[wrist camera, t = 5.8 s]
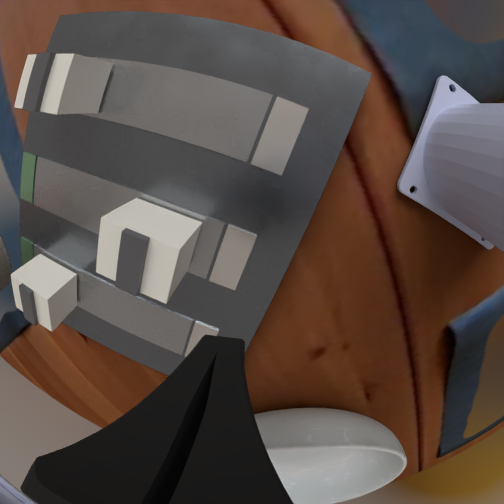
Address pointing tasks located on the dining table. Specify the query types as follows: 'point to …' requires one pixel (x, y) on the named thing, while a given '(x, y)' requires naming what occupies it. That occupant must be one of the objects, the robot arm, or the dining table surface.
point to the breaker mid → (146, 248)
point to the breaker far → (44, 291)
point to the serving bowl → (329, 453)
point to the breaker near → (62, 83)
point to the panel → (186, 168)
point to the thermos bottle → (4, 265)
